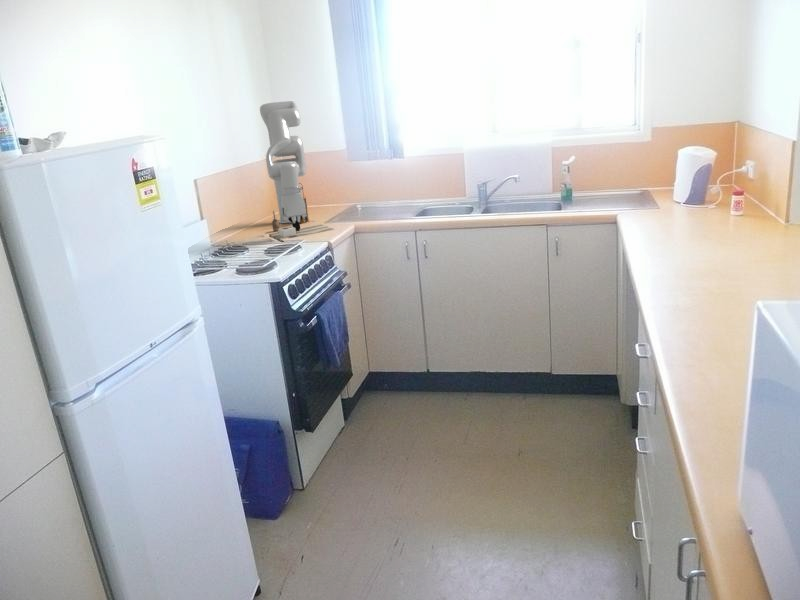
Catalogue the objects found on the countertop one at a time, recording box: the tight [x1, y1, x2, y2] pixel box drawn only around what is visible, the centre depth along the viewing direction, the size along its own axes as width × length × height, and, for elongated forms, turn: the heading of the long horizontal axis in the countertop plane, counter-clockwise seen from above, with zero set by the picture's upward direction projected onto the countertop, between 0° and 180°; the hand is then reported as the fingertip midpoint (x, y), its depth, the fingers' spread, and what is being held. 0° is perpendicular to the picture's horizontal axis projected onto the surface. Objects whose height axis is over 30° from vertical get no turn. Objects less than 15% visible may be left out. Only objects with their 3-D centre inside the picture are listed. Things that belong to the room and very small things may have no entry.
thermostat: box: [278, 226, 296, 237], centre depth 301 cm, size 6×6×3 cm
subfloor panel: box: [268, 224, 336, 243], centre depth 306 cm, size 18×26×1 cm
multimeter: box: [298, 182, 310, 225], centre depth 328 cm, size 15×10×20 cm
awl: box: [271, 210, 280, 233], centre depth 312 cm, size 3×3×11 cm
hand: (297, 230), depth 304 cm, fingers closed
